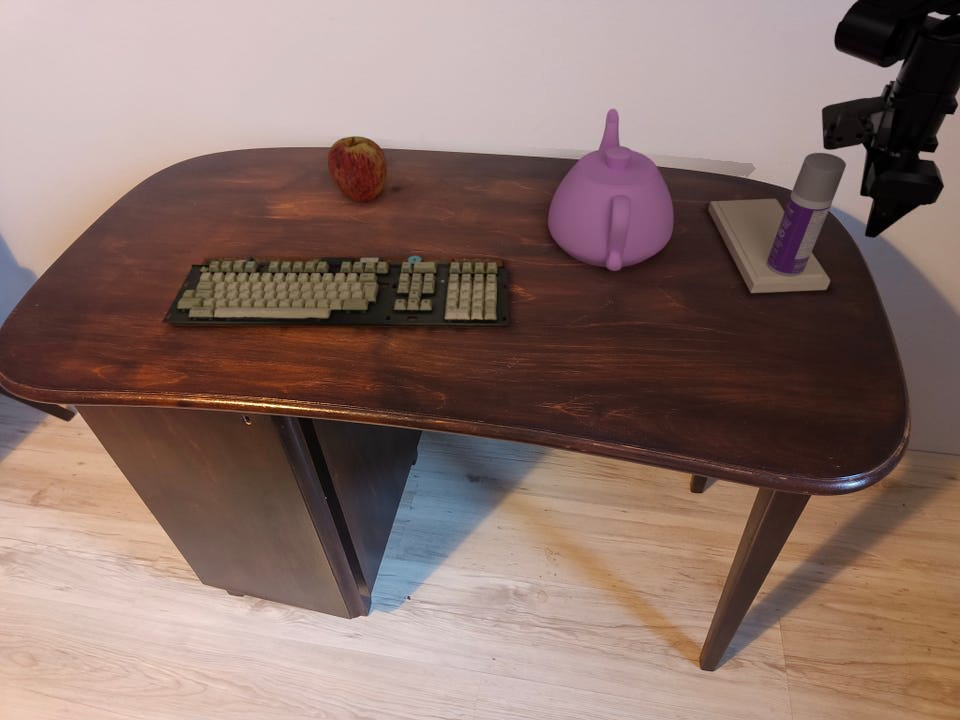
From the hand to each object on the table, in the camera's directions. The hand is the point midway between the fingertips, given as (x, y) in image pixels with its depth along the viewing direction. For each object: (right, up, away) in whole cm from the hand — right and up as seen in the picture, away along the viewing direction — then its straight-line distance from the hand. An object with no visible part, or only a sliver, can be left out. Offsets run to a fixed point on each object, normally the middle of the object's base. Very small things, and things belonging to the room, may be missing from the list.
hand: (866, 215), depth 76 cm
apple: (-65, +9, +28) cm, 72 cm away
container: (-6, -5, +9) cm, 12 cm away
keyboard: (-64, -8, +11) cm, 66 cm away
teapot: (-27, +1, +19) cm, 33 cm away
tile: (-6, -1, +15) cm, 16 cm away
